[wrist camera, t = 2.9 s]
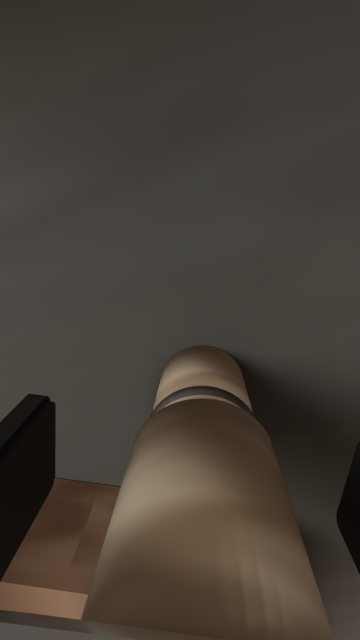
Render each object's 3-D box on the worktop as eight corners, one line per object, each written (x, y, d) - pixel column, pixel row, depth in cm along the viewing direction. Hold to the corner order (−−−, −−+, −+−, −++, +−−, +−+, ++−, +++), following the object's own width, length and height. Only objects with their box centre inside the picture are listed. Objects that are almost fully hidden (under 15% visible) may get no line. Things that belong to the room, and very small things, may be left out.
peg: (258, 345, 14) (503, 875, 3) (242, 431, 15) (365, 1055, 4) (158, 333, 14) (-17, 792, 3) (150, 420, 16) (5, 993, 4)
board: (248, 504, 16) (267, 620, 12) (210, 691, 20) (212, 836, 16) (-152, 450, 17) (-290, 540, 12) (-114, 642, 21) (-208, 768, 16)
